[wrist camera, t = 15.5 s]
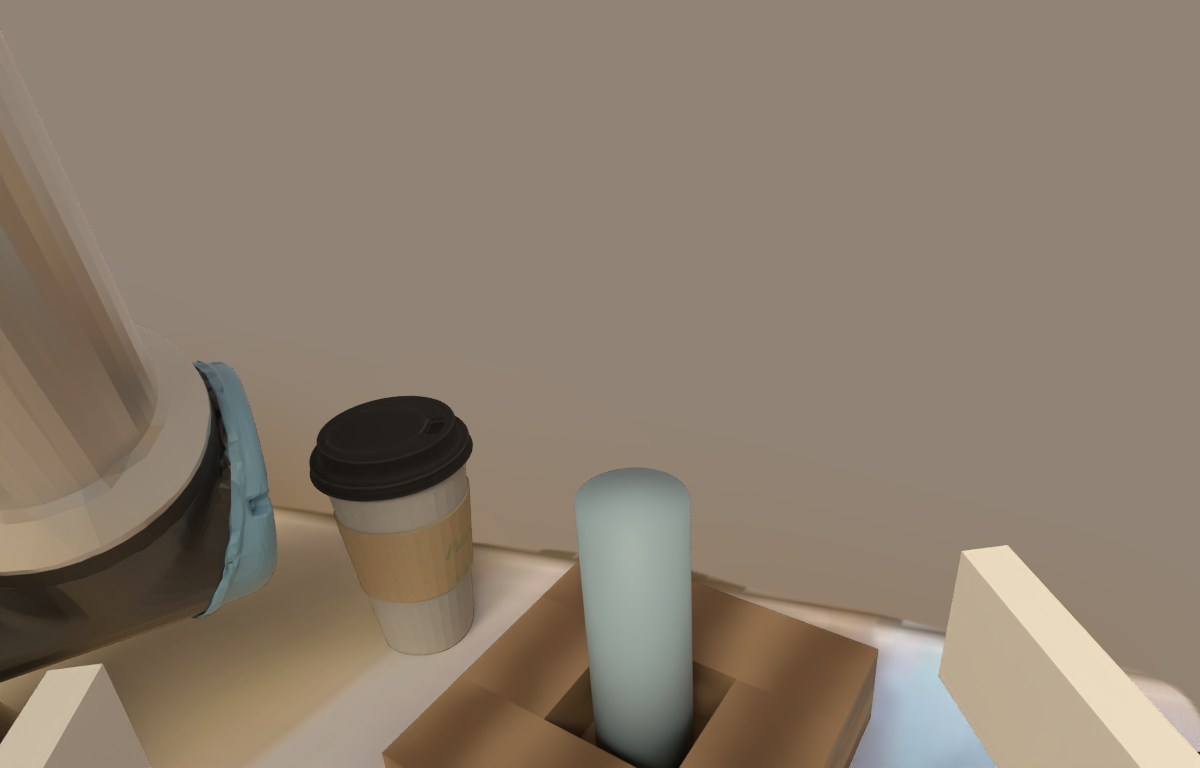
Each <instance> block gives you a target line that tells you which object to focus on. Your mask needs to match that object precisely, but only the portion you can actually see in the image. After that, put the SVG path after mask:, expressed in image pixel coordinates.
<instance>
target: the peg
mask: <svg viewBox="0 0 1200 768" xmlns="http://www.w3.org/2000/svg"><path fill="white" fill-rule="evenodd" d="M574 506H575V515H576V527H577V537H578V549H579V560H580V571H581V582H582V593H583V604H584V615H585V626H586V637H587V648H588V659H589V670H590V681H591V692H592V703H593V714H594V725H595V736H596V747H598V748H600V749H602V750H604V751H605V752H607V753H609V754H611V755H613V756H615V757H617V758H619V759H621V760H623V761H625V762H626V763H628V764H630V765H632V766H634V767H636V768H679V767H680V766H681V764H682V763H683V761H684V759H685V758H686V756H687V755H688V753H689V752H690V750H691V749H692V747H693V745H694V736H693V667H692V598H691V532H690V531H691V530H690V495H689V492H688V489H687V488H686V486H685V485H684V484H683V483H682V482H681V481H680V480H678V479H677V478H675V477H674V476H672V475H670V474H667V473H665V472H662V471H658V470H654V469H648V468H623V469H617V470H612V471H608V472H605V473H602V474H599V475H597V476H595V477H594V478H592V479H590V480H588V481H587V482H586V483H584V485H583V486H581V488H580V489H579V490H578V492H577V494H576V496H575V500H574Z"/></svg>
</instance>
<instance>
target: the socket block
mask: <svg viewBox="0 0 1200 768" xmlns="http://www.w3.org/2000/svg"><path fill="white" fill-rule="evenodd" d="M691 598H692V667H693V736H694V745H693V747H692V749H691V750H690V752H689V753H688V755H687V756H686V758H685V759H684V761H683V763H682V764H681V766H680V767H679V768H849V765H850V763H851V761H852V758H853V756H854V754H855V751H856V749H857V747H858V745H859V742H860V740H861V738H862V735H863V733H864V731H865V729H866V726H867V724H868V722H869V719H870V717H871V708H872V699H873V690H874V682H875V673H876V664H877V655H878V649H876V648H874V647H871V646H868V645H865V644H863V643H860V642H857V641H854V640H852V639H849V638H846V637H843V636H841V635H838V634H835V633H832V632H830V631H827V630H824V629H822V628H819V627H816V626H813V625H811V624H808V623H805V622H802V621H800V620H797V619H794V618H791V617H789V616H786V615H783V614H780V613H778V612H775V611H772V610H769V609H767V608H764V607H761V606H759V605H756V604H753V603H750V602H748V601H745V600H742V599H739V598H737V597H734V596H731V595H728V594H726V593H723V592H720V591H717V590H715V589H712V588H709V587H706V586H704V585H701V584H698V583H695V582H693V581H691ZM382 754H383V758H384V761H385V765H386V768H636V767H634V766H632V765H630V764H628V763H626V762H625V761H623V760H621V759H619V758H617V757H615V756H613V755H611V754H609V753H607V752H605V751H604V750H602V749H600V748H598V747H596V736H595V725H594V714H593V703H592V692H591V681H590V670H589V659H588V648H587V637H586V626H585V615H584V604H583V593H582V582H581V571H580V560H579V561H578V562H577V563H576V564H575V565H574V566H573V567H571V568H570V569H569V570H568V571H567V572H566V573H565V574H564V575H563V576H562V577H561V578H560V579H559V580H558V581H557V582H556V583H555V584H554V585H553V586H552V587H551V588H550V589H549V590H548V591H547V592H546V593H545V594H544V595H543V596H542V597H541V598H540V599H539V600H538V601H537V602H536V603H535V604H534V605H533V606H532V607H531V608H530V609H529V610H528V611H527V612H526V613H524V614H523V615H522V616H521V617H520V618H519V619H518V620H517V621H516V622H515V623H514V624H513V625H512V626H511V627H510V628H509V629H508V630H507V631H506V632H505V633H504V634H503V635H502V636H501V637H500V638H499V639H498V640H497V641H496V642H495V643H494V644H493V645H492V646H491V647H490V648H489V649H488V650H487V651H486V652H485V653H484V654H483V655H482V656H481V657H480V658H479V659H478V660H476V661H475V662H474V663H473V664H472V665H471V666H470V667H469V668H468V669H467V670H466V671H465V672H464V673H463V674H462V675H461V676H460V677H459V678H458V679H457V680H456V681H455V682H454V683H453V684H452V685H451V686H450V687H449V688H448V689H447V690H446V691H445V692H444V693H443V694H442V695H441V696H440V697H439V698H438V699H437V700H436V701H435V702H434V703H433V704H432V705H431V706H429V707H428V708H427V709H426V710H425V711H424V712H423V713H422V714H421V715H420V716H419V717H418V718H417V719H416V720H415V721H414V722H413V723H412V724H411V725H410V726H409V727H408V728H407V729H406V730H405V731H404V732H403V733H402V734H401V735H400V736H399V737H398V738H397V739H396V740H395V741H394V742H393V743H392V744H391V745H390V746H389V747H388V748H387V749H386V750H385V751H384V752H382Z"/></svg>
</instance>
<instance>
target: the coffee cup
mask: <svg viewBox="0 0 1200 768" xmlns="http://www.w3.org/2000/svg"><path fill="white" fill-rule="evenodd" d="M472 447H473V443H472V439H471V437H470V435H469V432H468V429H467V427H466V425H465V424H464V423H463V421H462V420H460V419H459V418H458V417H456V416H455V415H454V413H453V411H452V410H451V408H450V407H449V406H448V405H446V404H445V403H443V402H441V401H439V400H436V399H432V398H427V397H419V396H398V397H389V398H383V399H379V400H374V401H370V402H367V403H364V404H361V405H358V406H355V407H353V408H350V409H348V410H346V411H344V412H343V413H340V414H339V415H337V416H336V417H334V418H333V419H331V420H330V421H329V422H328V423H326V424H325V426H324V427H323V428H322V429H321V430H320V432H319V434H318V437H317V445H316V447H315V448H314V450H313V452H312V454H311V456H310V478H311V481H312V483H313V484H314V486H315V487H316V488H317V489H318V490H319V491H321V492H322V493H324V494H326V495H328V496H329V498H330V500H331V503H332V505H333V508H334V516H335V520H336V523H337V526H338V528H339V531H340V533H341V536H342V538H343V541H344V543H345V546H346V548H347V551H348V553H349V556H350V558H351V561H352V563H353V566H354V568H355V571H356V573H357V576H358V578H359V581H360V583H361V586H362V588H363V589H364V591H365V592H366V594H368V597H369V599H370V602H371V604H372V606H373V609H374V611H375V614H376V616H377V619H378V621H379V624H380V626H381V629H382V631H383V634H384V636H385V639H386V641H387V642H388V644H389V645H390V647H392V648H393V649H394V650H396V651H398V652H401V653H404V654H410V655H427V654H433V653H438V652H441V651H443V650H446V649H448V648H450V647H452V646H454V645H455V644H457V643H458V642H459V641H460V640H461V639H462V638H463V637H464V636H465V635H466V634H467V632H468V630H469V629H470V626H471V624H472V620H473V595H472V574H471V564H472V559H473V548H472V528H471V509H470V488H469V480H468V477H467V475H466V461H467V460H468V458H469V457H470V455H471V452H472Z"/></svg>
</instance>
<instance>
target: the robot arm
mask: <svg viewBox="0 0 1200 768" xmlns="http://www.w3.org/2000/svg"><path fill="white" fill-rule="evenodd" d="M268 492H269V489H268V483H267V473H266V468H265V463H264V459H263V454H262V450H261V445H260V441H259V437H258V434H257V429H256V426H255V422H254V418H253V415H252V411H251V408H250V405H249V402H248V399H247V396H246V392H245V390H244V387H243V385H242V383H241V380H240V378H239V376H238V375H237V373H236V372H235V370H234V369H233V368H231V367H229V366H227V365H226V364H224V363H221V362H212V363H203V362H200V361H197V362H191V360H190V359H189V358H188V356H187V355H186V354H185V353H184V352H183V351H182V350H181V349H179V348H178V347H177V346H176V345H175V344H174V343H172V342H171V341H169V340H167V339H166V338H164V337H163V336H161V335H159V334H157V333H155V332H153V331H151V330H149V329H147V328H145V327H142V326H139V325H137V324H134V323H133V321H132V319H131V317H130V314H129V312H128V310H127V308H126V306H125V303H124V301H123V299H122V297H121V295H120V292H119V290H118V288H117V286H116V283H115V281H114V279H113V277H112V275H111V272H110V270H109V268H108V266H107V264H106V261H105V259H104V257H103V255H102V253H101V250H100V248H99V246H98V244H97V242H96V240H95V237H94V235H93V233H92V231H91V228H90V226H89V224H88V222H87V219H86V217H85V215H84V213H83V211H82V208H81V206H80V204H79V202H78V200H77V198H76V195H75V193H74V191H73V189H72V186H71V184H70V182H69V180H68V178H67V175H66V174H65V171H64V169H63V167H62V164H61V162H60V160H59V158H58V155H57V153H56V151H55V149H54V147H53V144H52V142H51V140H50V138H49V136H48V133H47V131H46V129H45V127H44V125H43V122H42V120H41V118H40V116H39V114H38V111H37V109H36V107H35V105H34V103H33V100H32V98H31V96H30V94H29V92H28V89H27V87H26V85H25V83H24V81H23V78H22V76H21V74H20V72H19V69H18V67H17V65H16V63H15V61H14V58H13V56H12V54H11V52H10V50H9V47H8V45H7V43H6V41H5V39H4V36H3V34H2V32H1V30H0V682H3V681H6V680H9V679H12V678H15V677H18V676H21V675H24V674H26V673H29V672H32V671H35V670H38V669H41V668H44V667H47V666H50V665H53V664H56V663H59V662H61V661H64V660H67V659H70V658H73V657H76V656H79V655H82V654H85V653H88V652H91V651H94V650H96V649H99V648H102V647H105V646H108V645H111V644H114V643H117V642H120V641H123V640H126V639H129V638H131V637H134V636H137V635H140V634H143V633H146V632H149V631H152V630H155V629H158V628H161V627H164V626H166V625H169V624H172V623H175V622H178V621H181V620H184V619H187V618H190V617H192V618H201V617H204V616H208V615H210V613H212V612H213V613H214V612H215V611H216V610H217V609H219V607H220V606H222V605H224V604H227V603H229V602H232V601H234V600H237V599H240V598H242V597H245V596H247V595H250V594H252V593H254V592H256V591H258V590H259V589H261V588H262V587H263V586H264V585H265V584H266V583H267V582H268V581H269V579H270V578H271V576H272V574H273V572H274V570H275V566H276V561H277V538H276V527H275V520H274V514H273V508H272V505H271V501H270V499H269V497H268ZM939 678H940V679H941V681H942V682H943V684H944V686H945V687H946V689H947V690H948V692H949V693H950V695H951V696H952V698H953V700H954V701H955V703H956V704H957V706H958V707H959V709H960V710H961V712H962V714H963V715H964V717H965V718H966V720H967V721H968V723H969V724H970V726H971V727H972V729H973V731H974V732H975V734H976V735H977V737H978V738H979V740H980V741H981V743H982V745H983V746H984V748H985V749H986V751H987V752H988V754H989V755H990V757H991V759H992V760H993V762H994V763H995V765H996V766H997V768H1200V752H1196V751H1195V749H1194V748H1193V747H1192V746H1191V745H1190V744H1189V743H1188V742H1187V741H1186V740H1185V739H1184V737H1183V736H1182V735H1181V734H1180V733H1179V732H1178V731H1177V730H1176V729H1175V728H1174V727H1173V725H1172V724H1171V723H1170V722H1169V721H1168V720H1167V719H1166V718H1165V717H1164V716H1163V715H1162V713H1161V712H1160V711H1159V710H1158V709H1157V708H1156V707H1155V706H1154V705H1153V704H1152V703H1151V701H1150V700H1149V699H1148V698H1147V697H1146V696H1145V695H1144V694H1143V693H1142V692H1141V691H1140V689H1139V688H1138V687H1137V686H1136V685H1135V684H1134V683H1133V682H1132V681H1131V680H1130V679H1129V677H1128V676H1127V675H1126V674H1125V673H1124V672H1123V671H1122V670H1121V669H1120V668H1119V667H1118V665H1117V664H1116V663H1115V662H1114V661H1113V660H1112V659H1111V658H1110V657H1109V656H1108V655H1107V653H1106V652H1105V651H1104V650H1103V649H1102V648H1101V647H1100V646H1099V645H1098V644H1097V642H1096V641H1095V640H1094V639H1093V638H1092V637H1091V636H1090V635H1089V634H1088V633H1087V632H1086V631H1085V630H1084V628H1083V627H1082V626H1081V625H1080V624H1079V623H1078V622H1077V621H1076V620H1075V619H1074V617H1073V616H1072V615H1071V614H1070V613H1069V612H1068V611H1067V610H1066V609H1065V608H1064V606H1063V605H1062V604H1061V603H1060V602H1059V601H1058V600H1057V599H1056V598H1055V597H1054V596H1053V594H1051V592H1050V591H1049V590H1048V589H1047V588H1046V587H1045V586H1044V585H1043V584H1042V582H1041V581H1040V580H1039V579H1038V578H1037V577H1036V576H1035V575H1034V574H1033V573H1032V572H1031V570H1030V569H1029V568H1028V567H1027V566H1026V565H1025V564H1024V563H1023V562H1022V561H1021V560H1020V558H1019V557H1018V556H1017V555H1016V554H1015V553H1014V552H1013V551H1012V550H1011V549H1010V548H1009V546H1008V545H1005V546H998V547H991V548H983V549H975V550H967V551H962V552H961V558H960V563H959V569H958V574H957V579H956V584H955V590H954V595H953V600H952V606H951V612H950V617H949V622H948V628H947V633H946V638H945V643H944V649H943V654H942V659H941V665H940V670H939ZM0 768H152V766H151V764H150V762H149V760H148V758H147V756H146V754H145V752H144V750H143V747H142V745H141V743H140V741H139V739H138V737H137V735H136V733H135V731H134V728H133V726H132V724H131V722H130V720H129V718H128V716H127V714H126V711H125V709H124V707H123V705H122V703H121V701H120V699H119V697H118V695H117V692H116V690H115V688H114V686H113V684H112V682H111V680H110V678H109V675H108V673H107V671H106V669H105V667H104V665H103V663H102V664H94V665H86V666H79V667H71V668H63V669H56V670H48V671H47V673H46V674H45V676H44V677H43V679H42V680H41V682H40V683H39V685H38V686H37V688H36V690H35V691H34V693H33V694H32V696H31V697H30V699H29V700H28V702H27V704H26V705H25V707H24V708H23V710H22V711H21V713H20V714H18V713H16V712H15V711H13V710H12V709H10V708H9V707H7V706H6V705H4V704H3V703H1V702H0Z"/></svg>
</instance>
